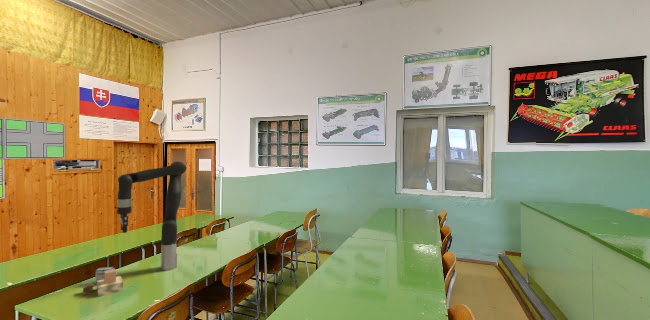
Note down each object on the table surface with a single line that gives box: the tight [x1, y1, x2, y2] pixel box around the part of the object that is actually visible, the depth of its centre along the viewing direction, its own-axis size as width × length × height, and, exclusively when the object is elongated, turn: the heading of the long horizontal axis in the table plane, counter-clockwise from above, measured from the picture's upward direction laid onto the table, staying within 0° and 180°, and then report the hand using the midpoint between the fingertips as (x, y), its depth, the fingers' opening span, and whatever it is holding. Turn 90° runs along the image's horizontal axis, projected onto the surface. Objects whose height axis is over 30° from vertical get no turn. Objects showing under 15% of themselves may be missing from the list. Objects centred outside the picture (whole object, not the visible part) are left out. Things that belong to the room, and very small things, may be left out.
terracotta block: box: [104, 268, 117, 284], centre depth 157 cm, size 5×5×6 cm
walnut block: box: [82, 283, 94, 296], centre depth 153 cm, size 4×4×4 cm
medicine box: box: [94, 266, 115, 285], centre depth 166 cm, size 8×4×9 cm, turn 105°
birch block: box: [96, 275, 124, 298], centre depth 157 cm, size 11×11×5 cm
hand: (123, 231), depth 172 cm, fingers open, 8 cm apart
